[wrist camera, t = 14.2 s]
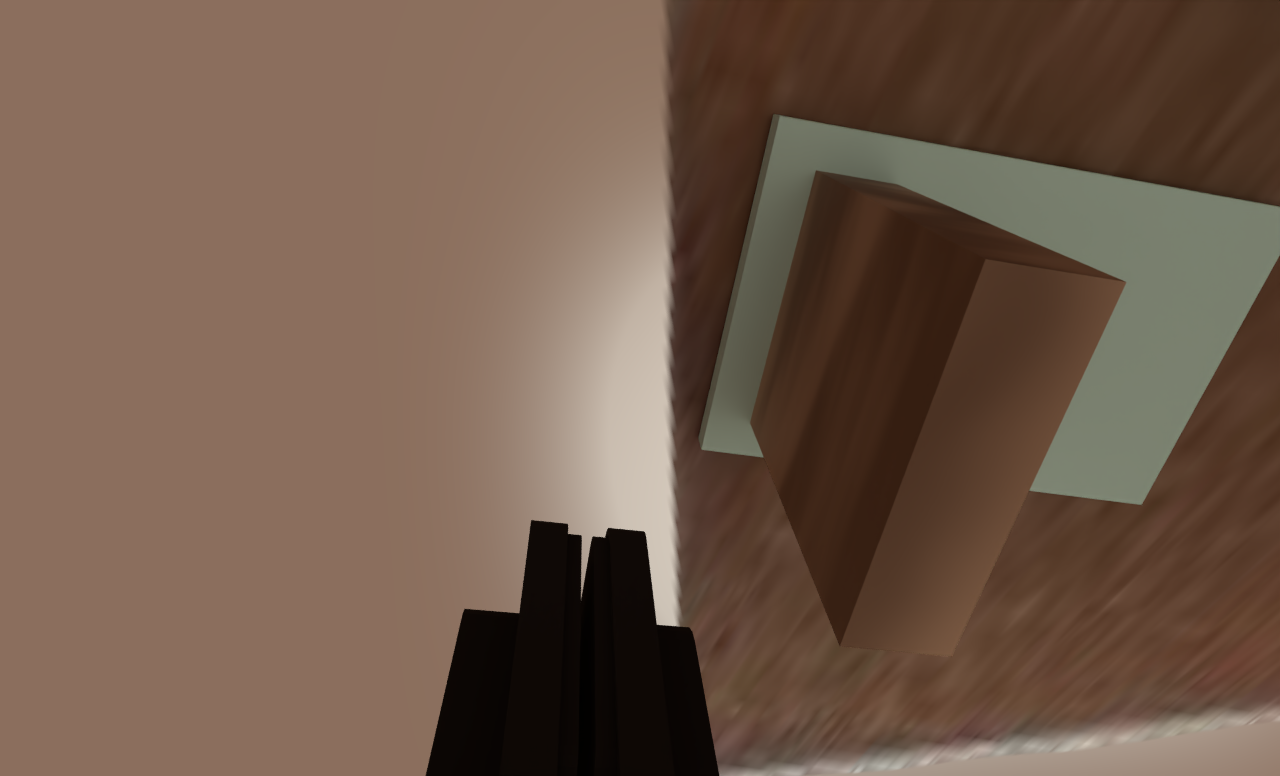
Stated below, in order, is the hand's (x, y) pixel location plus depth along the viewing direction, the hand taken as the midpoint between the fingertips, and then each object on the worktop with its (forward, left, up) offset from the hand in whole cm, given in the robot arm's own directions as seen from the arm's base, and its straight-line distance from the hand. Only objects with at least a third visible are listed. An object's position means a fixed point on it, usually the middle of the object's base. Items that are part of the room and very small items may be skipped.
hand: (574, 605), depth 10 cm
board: (-9, 0, -17) cm, 19 cm away
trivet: (-15, 0, -18) cm, 24 cm away
